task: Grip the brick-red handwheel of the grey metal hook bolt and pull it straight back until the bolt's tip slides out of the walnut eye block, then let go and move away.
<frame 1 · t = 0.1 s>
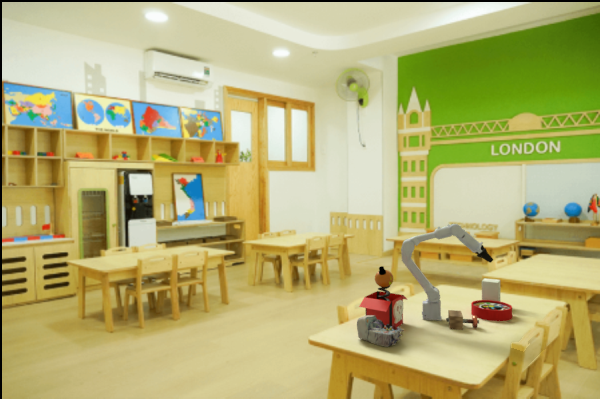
hand: (490, 259, 220), 32 cm above the table, tool tilted 50°, fingers open, 7 cm apart
hook bolt: (462, 320, 214), point 3 cm above the table, slide at 0.0 cm
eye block: (455, 326, 215), on the table
toy clock: (491, 316, 232), on the table
supplement box: (491, 306, 250), on the table
jack-in-the-box: (385, 324, 219), on the table
grey lumpy piece: (379, 341, 196), on the table
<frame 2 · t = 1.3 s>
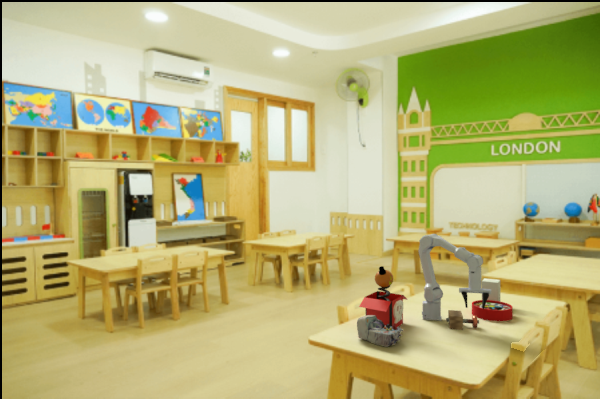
hand: (474, 307, 213), 10 cm above the table, tool pointing down, fingers open, 7 cm apart
nothing on the table moved.
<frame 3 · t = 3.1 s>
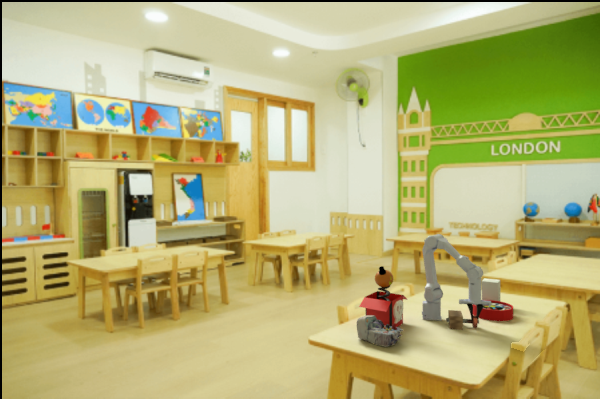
hand: (474, 319, 213), 4 cm above the table, tool pointing down, fingers closed on hook bolt, 2 cm apart
hook bolt: (462, 320, 214), point 3 cm above the table, slide at 0.0 cm, touching gripper
everything else where it was.
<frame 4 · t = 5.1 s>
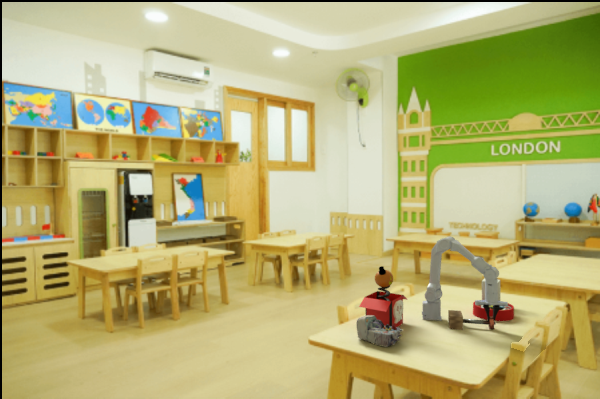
hand: (491, 320, 211), 4 cm above the table, tool pointing down, fingers closed on hook bolt, 2 cm apart
hook bolt: (478, 321, 212), point 3 cm above the table, slide at 7.5 cm, touching gripper
everything else where it was.
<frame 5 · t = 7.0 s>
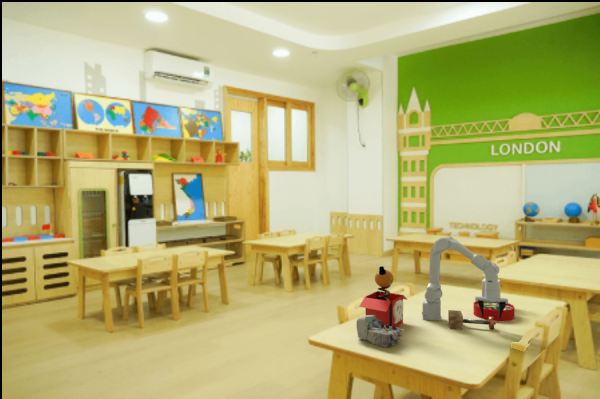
hand: (491, 316, 211), 6 cm above the table, tool pointing down, fingers open, 7 cm apart
hook bolt: (478, 321, 212), point 3 cm above the table, slide at 7.5 cm
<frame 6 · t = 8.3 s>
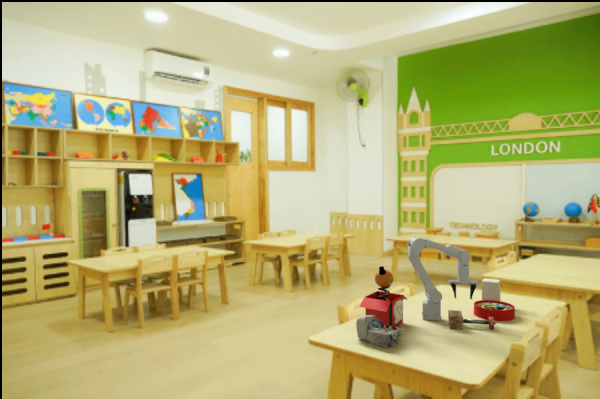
hand: (463, 298, 228), 10 cm above the table, tool pointing down, fingers open, 7 cm apart
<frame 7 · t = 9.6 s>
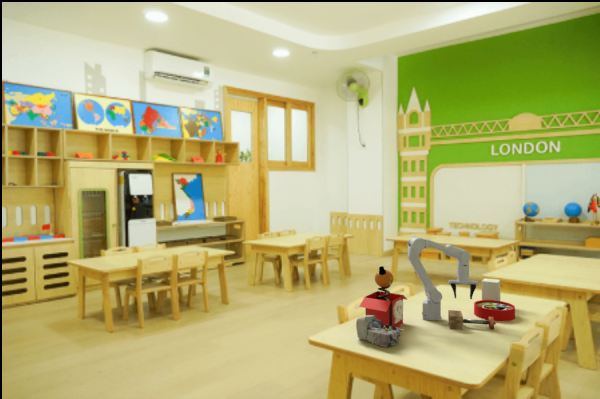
hand: (463, 298, 228), 10 cm above the table, tool pointing down, fingers open, 7 cm apart
at the end: hook bolt slide at 7.5 cm; the gripper is holding nothing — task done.
